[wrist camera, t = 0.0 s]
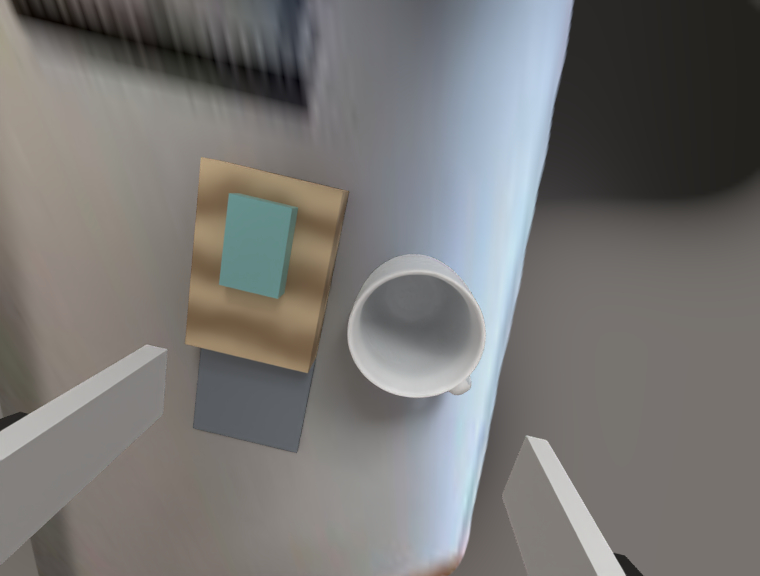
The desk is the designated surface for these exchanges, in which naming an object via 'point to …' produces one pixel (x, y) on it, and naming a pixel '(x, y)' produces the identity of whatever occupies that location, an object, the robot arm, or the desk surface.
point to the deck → (304, 279)
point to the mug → (416, 328)
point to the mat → (251, 400)
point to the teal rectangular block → (257, 245)
